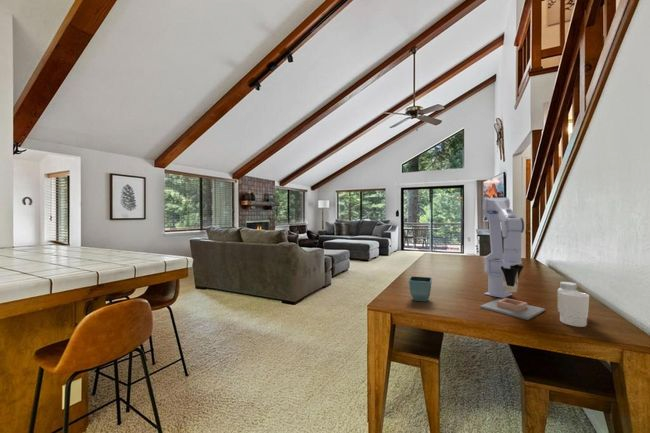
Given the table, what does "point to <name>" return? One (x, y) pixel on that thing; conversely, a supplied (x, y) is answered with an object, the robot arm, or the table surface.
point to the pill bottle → (566, 286)
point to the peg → (510, 288)
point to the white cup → (573, 307)
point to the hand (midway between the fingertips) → (512, 284)
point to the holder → (513, 308)
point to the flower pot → (420, 288)
